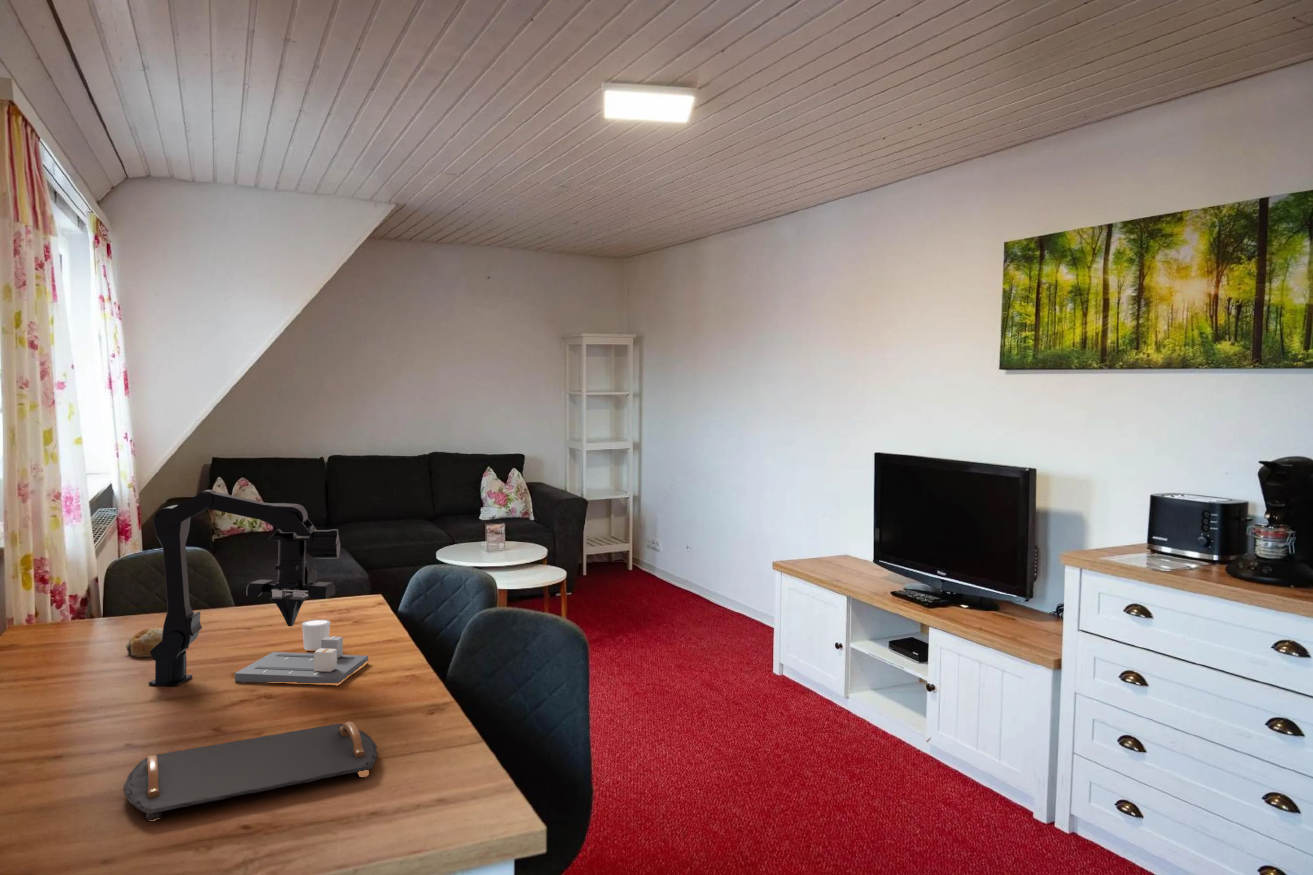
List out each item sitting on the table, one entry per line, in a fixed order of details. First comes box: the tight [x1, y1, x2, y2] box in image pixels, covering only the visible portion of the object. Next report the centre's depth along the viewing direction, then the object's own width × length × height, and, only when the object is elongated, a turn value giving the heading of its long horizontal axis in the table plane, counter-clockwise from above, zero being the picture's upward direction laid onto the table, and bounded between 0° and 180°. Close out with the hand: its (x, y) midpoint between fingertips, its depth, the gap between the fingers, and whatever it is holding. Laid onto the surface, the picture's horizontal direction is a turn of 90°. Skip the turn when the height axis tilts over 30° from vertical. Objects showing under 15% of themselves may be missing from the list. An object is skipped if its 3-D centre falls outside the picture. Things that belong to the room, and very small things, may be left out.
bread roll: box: [125, 627, 163, 658], centre depth 210 cm, size 10×10×8 cm
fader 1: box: [321, 635, 344, 658], centre depth 203 cm, size 3×4×4 cm
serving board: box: [123, 721, 378, 820], centre depth 143 cm, size 39×23×6 cm, turn 122°
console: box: [234, 651, 369, 683], centre depth 198 cm, size 17×24×2 cm
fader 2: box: [313, 648, 337, 672], centre depth 193 cm, size 3×4×4 cm
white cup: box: [301, 619, 331, 651], centre depth 217 cm, size 7×7×7 cm
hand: (290, 625), depth 194 cm, fingers closed
